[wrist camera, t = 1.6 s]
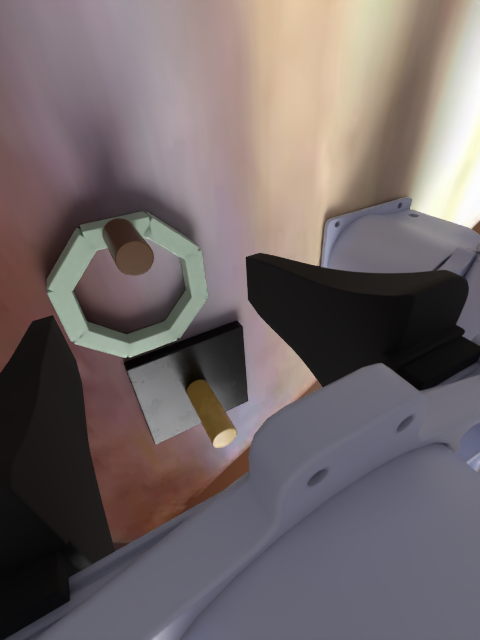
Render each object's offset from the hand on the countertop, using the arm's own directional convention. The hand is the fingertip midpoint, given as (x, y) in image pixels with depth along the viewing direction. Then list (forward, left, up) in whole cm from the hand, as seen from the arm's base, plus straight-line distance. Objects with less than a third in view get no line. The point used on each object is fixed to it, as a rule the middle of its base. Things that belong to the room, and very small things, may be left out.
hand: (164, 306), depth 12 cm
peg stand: (-3, +15, -9) cm, 17 cm away
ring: (0, +4, -9) cm, 10 cm away
